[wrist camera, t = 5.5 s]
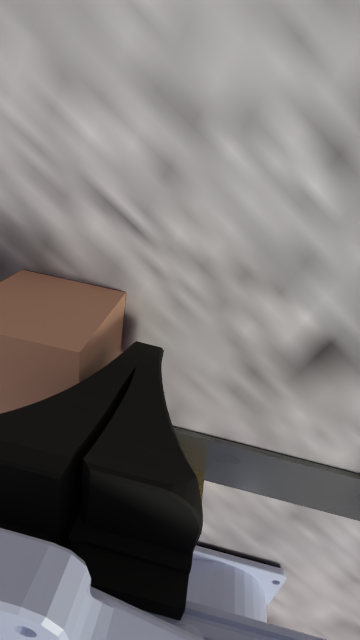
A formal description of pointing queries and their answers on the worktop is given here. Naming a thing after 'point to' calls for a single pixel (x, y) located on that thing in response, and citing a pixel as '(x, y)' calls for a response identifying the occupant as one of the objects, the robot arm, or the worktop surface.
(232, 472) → the frame
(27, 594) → the robot arm
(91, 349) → the block
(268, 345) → the worktop surface
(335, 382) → the worktop surface
